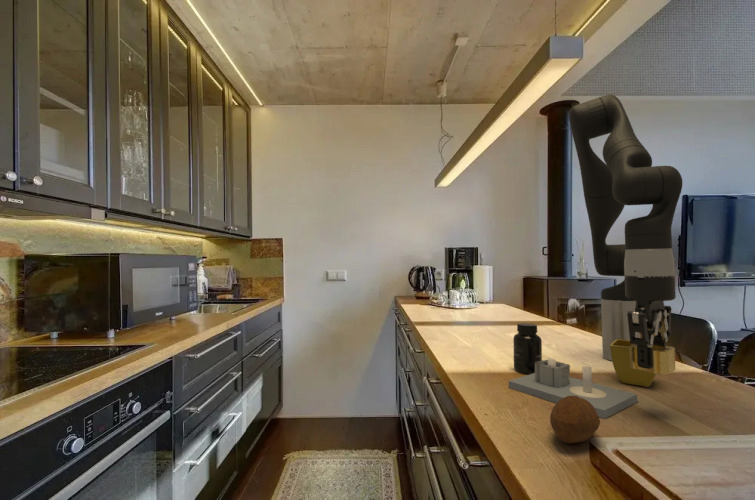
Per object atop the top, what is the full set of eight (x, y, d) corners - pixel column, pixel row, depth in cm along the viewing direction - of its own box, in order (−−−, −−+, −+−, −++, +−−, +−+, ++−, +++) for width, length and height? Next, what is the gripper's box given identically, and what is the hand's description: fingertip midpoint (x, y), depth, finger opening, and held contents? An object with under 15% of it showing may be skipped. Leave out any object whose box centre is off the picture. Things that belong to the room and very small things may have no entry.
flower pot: (610, 383, 84) (609, 344, 84) (617, 374, 90) (616, 338, 91) (657, 392, 78) (656, 350, 78) (662, 382, 84) (660, 343, 85)
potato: (603, 431, 60) (602, 389, 60) (597, 463, 51) (596, 412, 51) (558, 421, 64) (557, 381, 64) (545, 449, 55) (544, 402, 55)
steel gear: (547, 376, 84) (546, 359, 84) (572, 383, 79) (571, 364, 80) (532, 381, 81) (532, 363, 81) (557, 388, 76) (557, 369, 76)
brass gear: (640, 362, 71) (639, 341, 71) (677, 369, 66) (676, 347, 66) (627, 367, 68) (627, 346, 68) (665, 375, 63) (664, 352, 63)
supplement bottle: (545, 375, 90) (544, 327, 90) (516, 374, 91) (515, 326, 92) (538, 367, 97) (537, 322, 97) (511, 366, 98) (511, 322, 98)
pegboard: (543, 376, 89) (543, 349, 90) (637, 401, 73) (636, 369, 73) (508, 387, 81) (508, 358, 82) (604, 418, 65) (603, 382, 65)
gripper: (640, 271, 75) (643, 353, 74) (609, 274, 66) (612, 367, 66) (687, 272, 68) (690, 362, 68) (658, 275, 60) (662, 377, 60)
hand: (652, 364), depth 67 cm, fingers closed on brass gear, 5 cm apart
